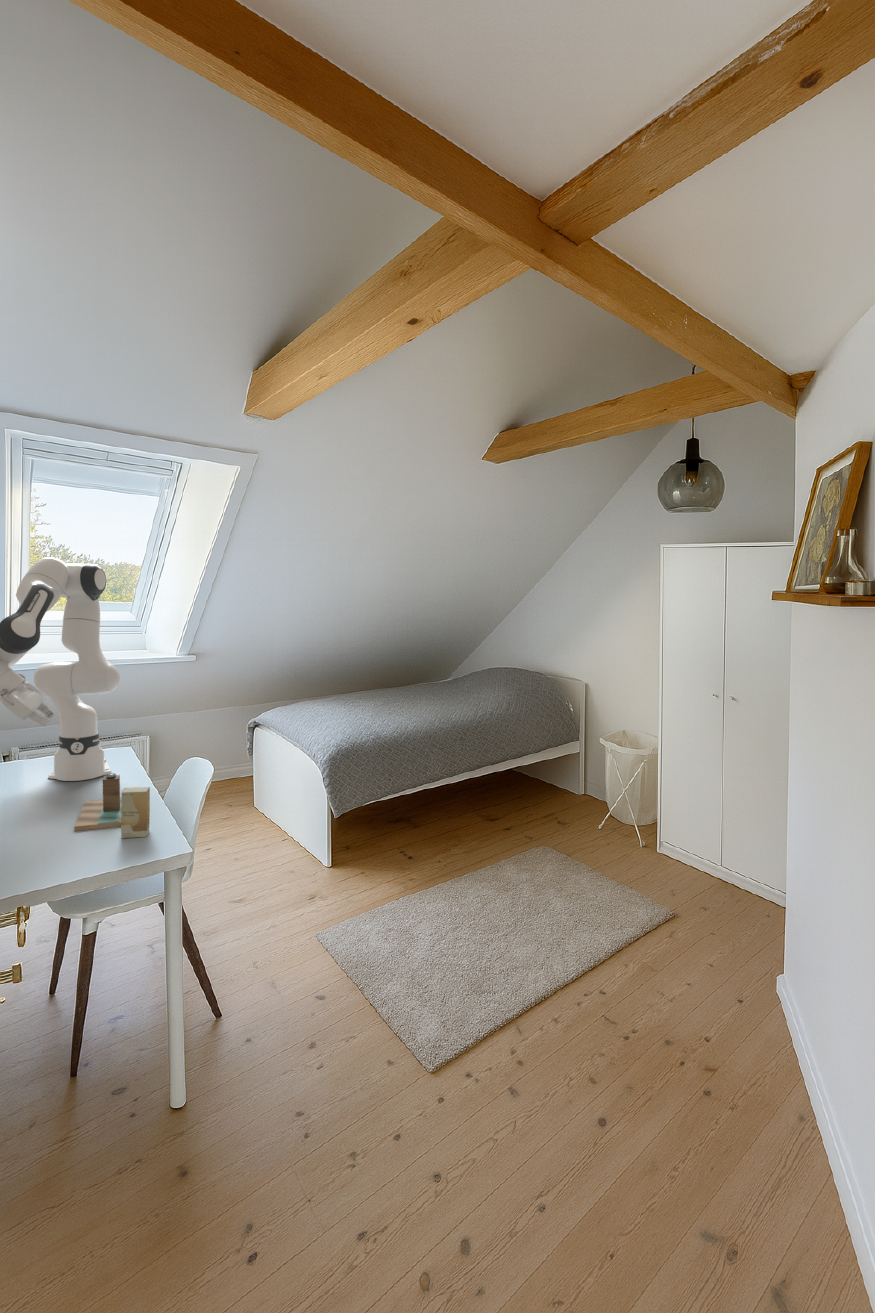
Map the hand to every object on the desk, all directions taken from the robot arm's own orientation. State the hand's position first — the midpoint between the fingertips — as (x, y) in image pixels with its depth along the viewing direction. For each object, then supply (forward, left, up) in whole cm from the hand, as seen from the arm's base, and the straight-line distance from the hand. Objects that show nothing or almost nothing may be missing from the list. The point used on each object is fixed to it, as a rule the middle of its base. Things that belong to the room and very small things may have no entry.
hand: (49, 720), depth 178 cm
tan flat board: (+8, +15, -26) cm, 32 cm away
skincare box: (+27, +23, -27) cm, 44 cm away
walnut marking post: (+8, +16, -25) cm, 31 cm away
